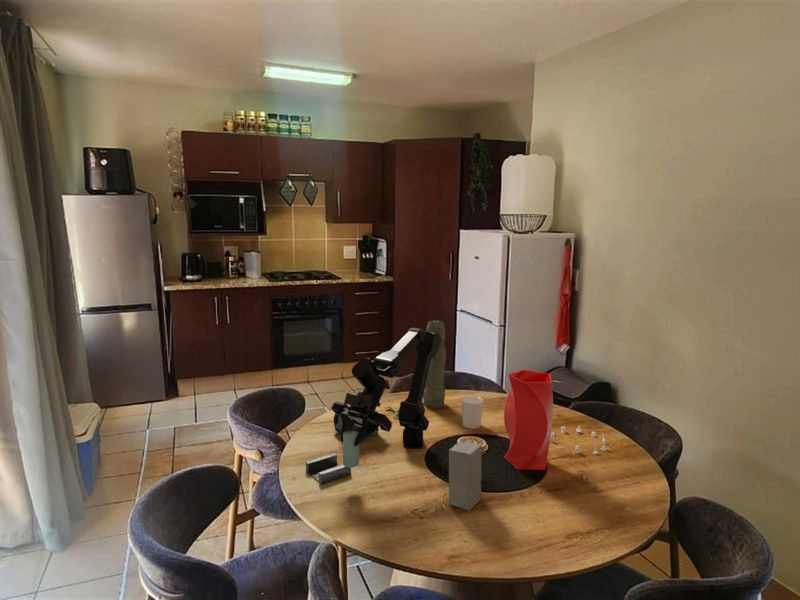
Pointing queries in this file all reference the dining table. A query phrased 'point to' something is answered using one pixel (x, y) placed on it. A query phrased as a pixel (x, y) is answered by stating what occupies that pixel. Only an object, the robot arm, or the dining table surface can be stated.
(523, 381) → the vase
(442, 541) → the dining table surface
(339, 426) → the lucky cat figurine
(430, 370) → the grey green tall pillar
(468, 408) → the white cup
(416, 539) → the dining table surface
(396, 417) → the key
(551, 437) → the game piece set
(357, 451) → the teal peg
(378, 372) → the robot arm
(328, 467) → the rail dock
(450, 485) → the skincare box
